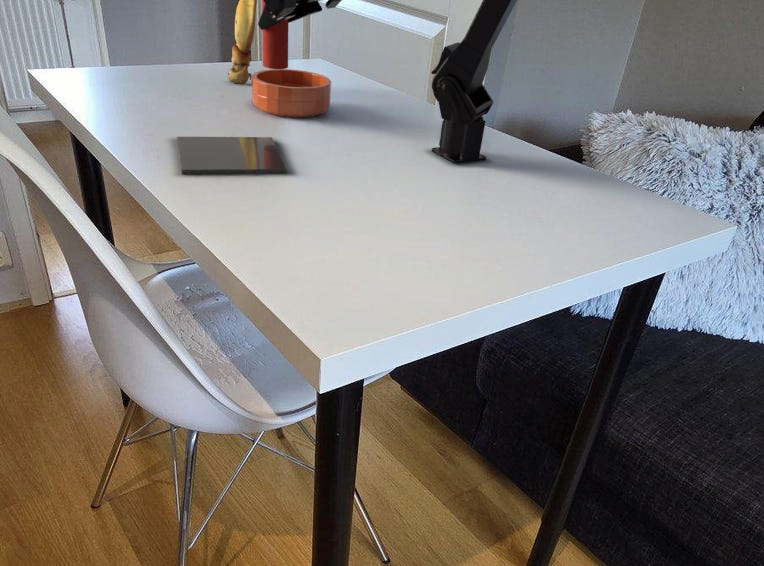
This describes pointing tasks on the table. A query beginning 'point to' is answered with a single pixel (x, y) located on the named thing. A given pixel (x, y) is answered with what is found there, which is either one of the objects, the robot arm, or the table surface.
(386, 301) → the table surface
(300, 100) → the pot
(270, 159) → the coaster
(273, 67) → the red tall cylinder
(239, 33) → the tan tall curved piece
